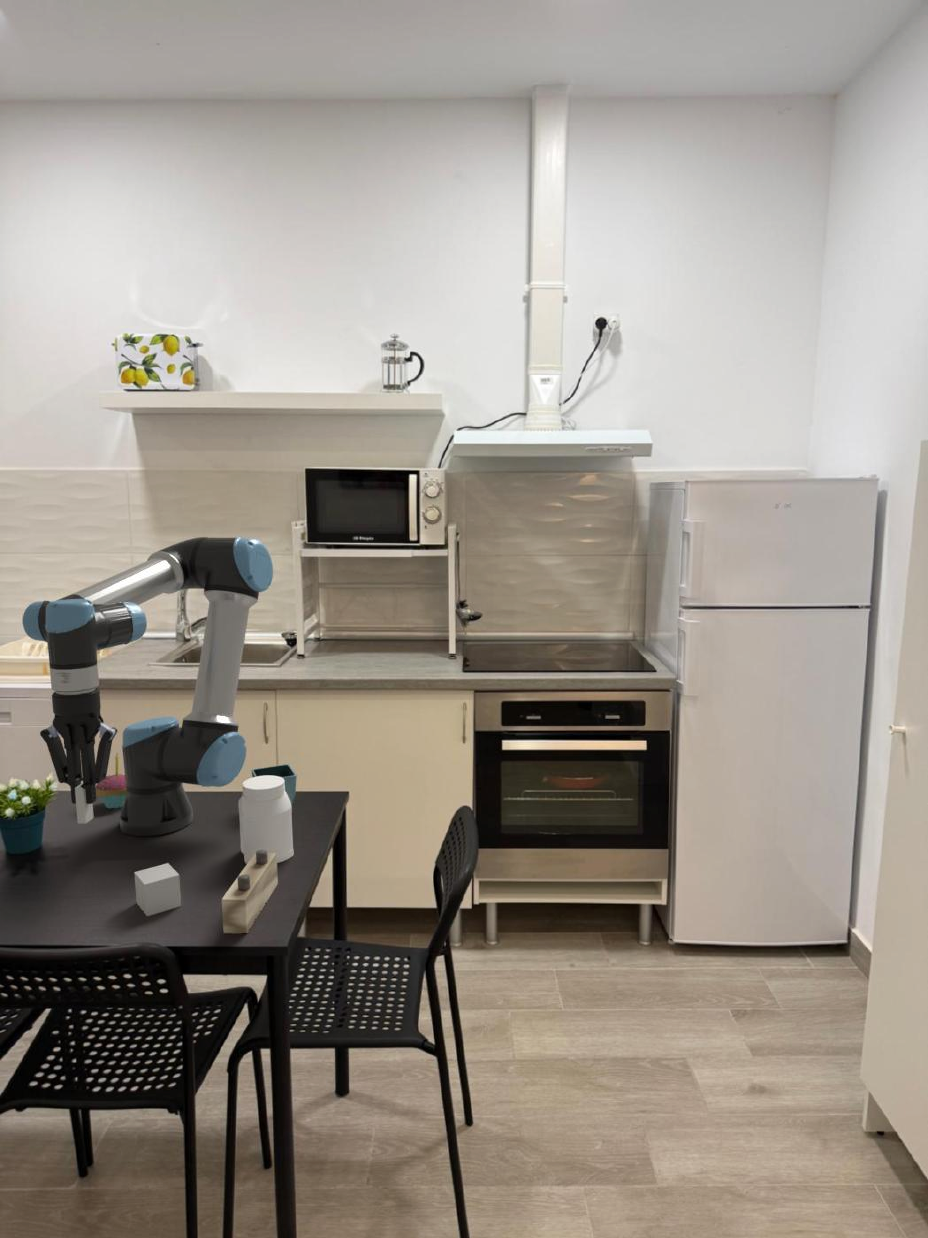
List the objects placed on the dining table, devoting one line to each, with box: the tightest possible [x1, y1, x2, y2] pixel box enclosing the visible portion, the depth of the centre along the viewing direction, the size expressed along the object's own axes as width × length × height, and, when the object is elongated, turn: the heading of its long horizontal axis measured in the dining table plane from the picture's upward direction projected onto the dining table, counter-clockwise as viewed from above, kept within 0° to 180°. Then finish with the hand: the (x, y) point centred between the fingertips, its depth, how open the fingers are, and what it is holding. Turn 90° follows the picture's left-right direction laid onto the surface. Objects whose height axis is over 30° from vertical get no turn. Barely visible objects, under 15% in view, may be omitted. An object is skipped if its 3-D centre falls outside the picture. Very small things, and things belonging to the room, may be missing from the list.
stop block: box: [221, 850, 279, 934], centre depth 151 cm, size 4×18×8 cm, turn 176°
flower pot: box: [251, 763, 298, 807], centre depth 196 cm, size 9×9×9 cm
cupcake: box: [96, 752, 126, 809], centre depth 199 cm, size 9×8×12 cm
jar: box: [237, 775, 295, 865], centre depth 172 cm, size 12×10×15 cm
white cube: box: [133, 862, 182, 917], centre depth 152 cm, size 6×6×6 cm
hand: (85, 820), depth 151 cm, fingers closed
